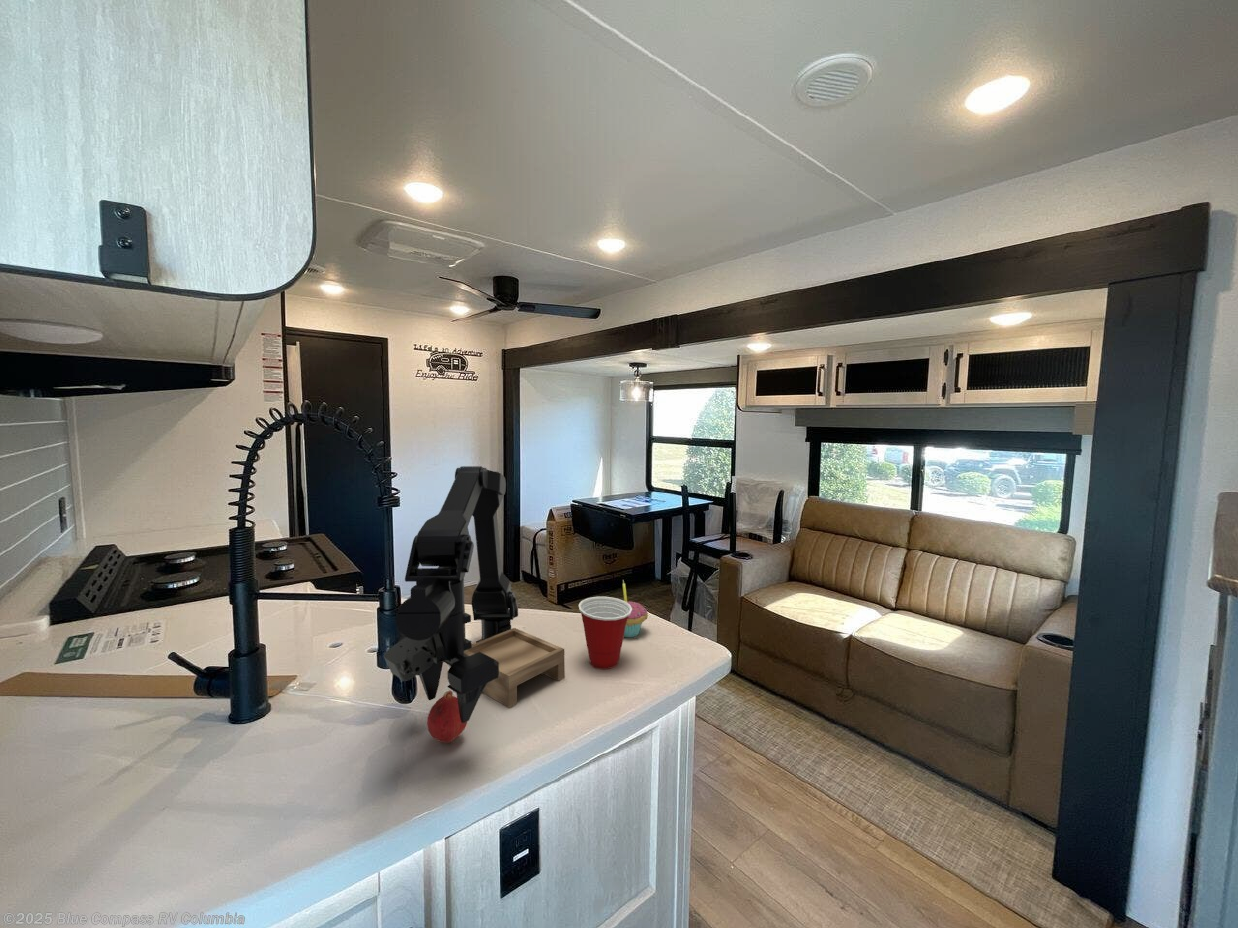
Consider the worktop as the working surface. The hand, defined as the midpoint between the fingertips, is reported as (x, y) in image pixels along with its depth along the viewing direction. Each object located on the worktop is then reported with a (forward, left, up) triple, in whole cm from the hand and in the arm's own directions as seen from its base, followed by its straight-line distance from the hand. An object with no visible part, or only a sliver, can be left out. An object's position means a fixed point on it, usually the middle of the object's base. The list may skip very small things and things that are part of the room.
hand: (447, 709), depth 75 cm
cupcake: (-3, +48, -5) cm, 48 cm away
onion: (0, 0, -5) cm, 5 cm away
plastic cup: (+2, +34, -5) cm, 34 cm away
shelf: (-7, +18, -5) cm, 20 cm away
